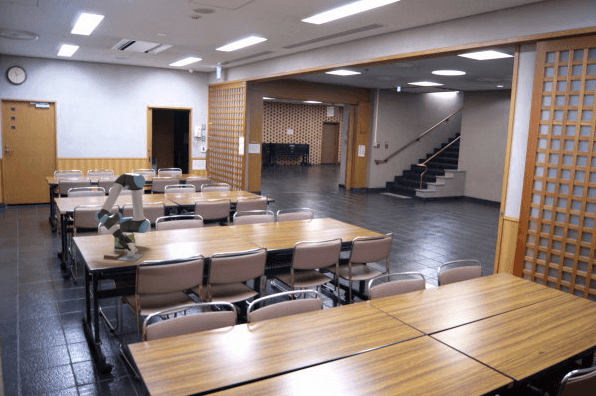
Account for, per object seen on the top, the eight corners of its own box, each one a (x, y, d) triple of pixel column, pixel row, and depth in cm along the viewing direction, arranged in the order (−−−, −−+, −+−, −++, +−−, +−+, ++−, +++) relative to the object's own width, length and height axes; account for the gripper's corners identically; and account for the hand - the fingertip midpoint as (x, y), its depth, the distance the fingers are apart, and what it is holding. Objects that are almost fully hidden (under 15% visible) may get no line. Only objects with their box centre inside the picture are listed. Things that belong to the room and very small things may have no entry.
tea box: (124, 253, 385) (124, 236, 383) (113, 252, 387) (113, 235, 385) (134, 249, 400) (134, 232, 398) (124, 248, 402) (123, 231, 400)
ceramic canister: (129, 254, 378) (129, 242, 377) (135, 254, 378) (135, 243, 376) (126, 256, 373) (125, 244, 371) (132, 256, 372) (132, 244, 371)
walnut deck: (112, 253, 384) (112, 250, 384) (124, 254, 383) (124, 251, 383) (103, 258, 370) (103, 255, 370) (116, 259, 369) (116, 256, 369)
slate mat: (127, 254, 385) (127, 253, 385) (143, 255, 384) (143, 254, 384) (117, 260, 367) (117, 259, 367) (134, 261, 366) (134, 260, 366)
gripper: (118, 231, 383) (137, 252, 384) (106, 236, 365) (126, 258, 366) (124, 226, 382) (143, 246, 383) (113, 230, 364) (133, 252, 365)
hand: (135, 252), depth 375 cm, fingers closed on ceramic canister, 5 cm apart
